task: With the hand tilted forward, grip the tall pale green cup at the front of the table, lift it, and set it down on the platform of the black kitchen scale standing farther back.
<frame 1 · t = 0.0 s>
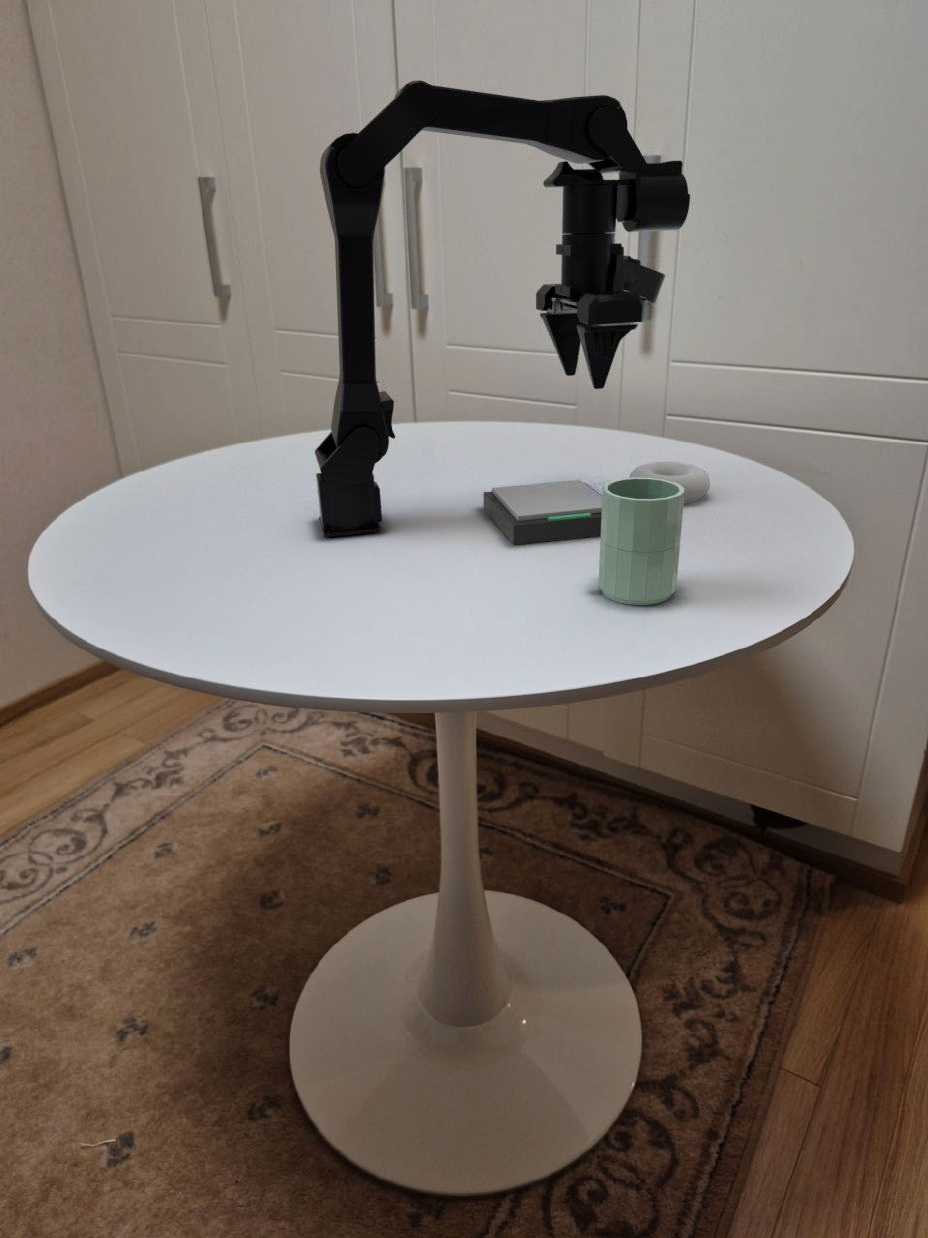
hand: (584, 381, 99), 15 cm above the table, tool pointing down, fingers open, 9 cm apart
donut: (667, 496, 108), on the table
scale: (551, 520, 100), on the table
pale green cup: (636, 591, 81), on the table
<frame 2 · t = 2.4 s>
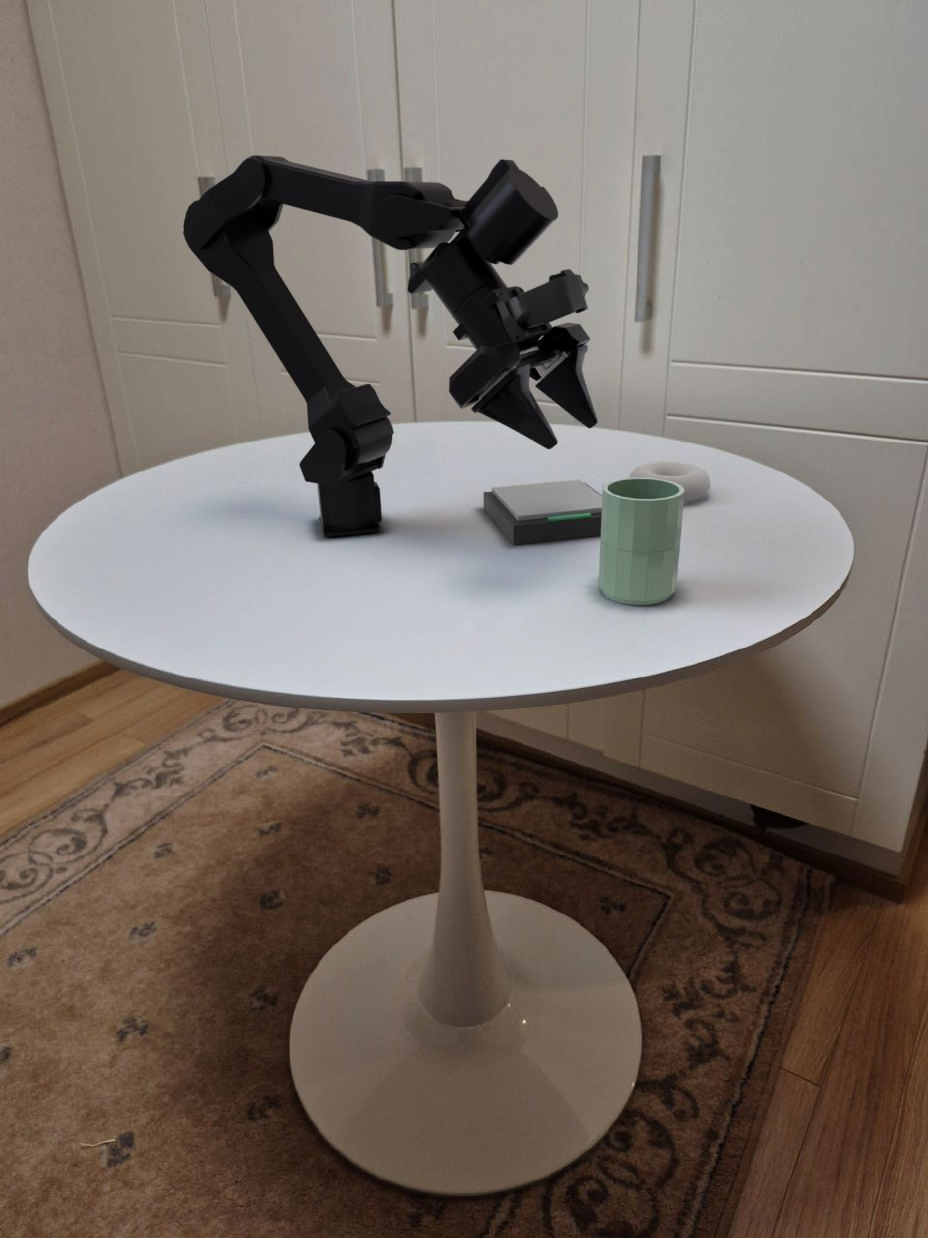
hand: (574, 435, 81), 13 cm above the table, tool tilted 40°, fingers open, 9 cm apart
nothing on the table moved.
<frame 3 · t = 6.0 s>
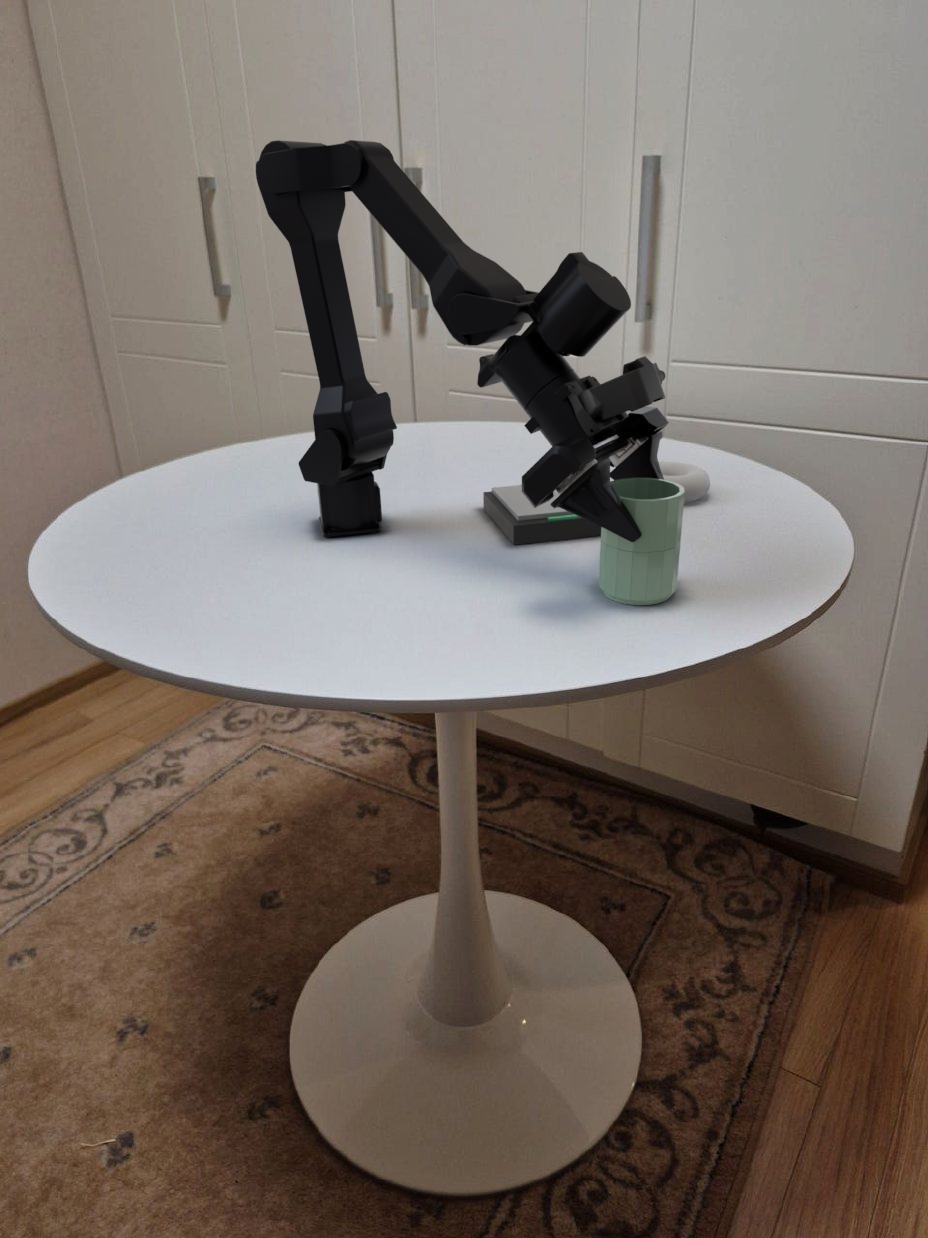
hand: (655, 527, 77), 7 cm above the table, tool tilted 45°, fingers closed on pale green cup, 7 cm apart
pale green cup: (636, 591, 81), on the table, touching gripper
everything else where it was.
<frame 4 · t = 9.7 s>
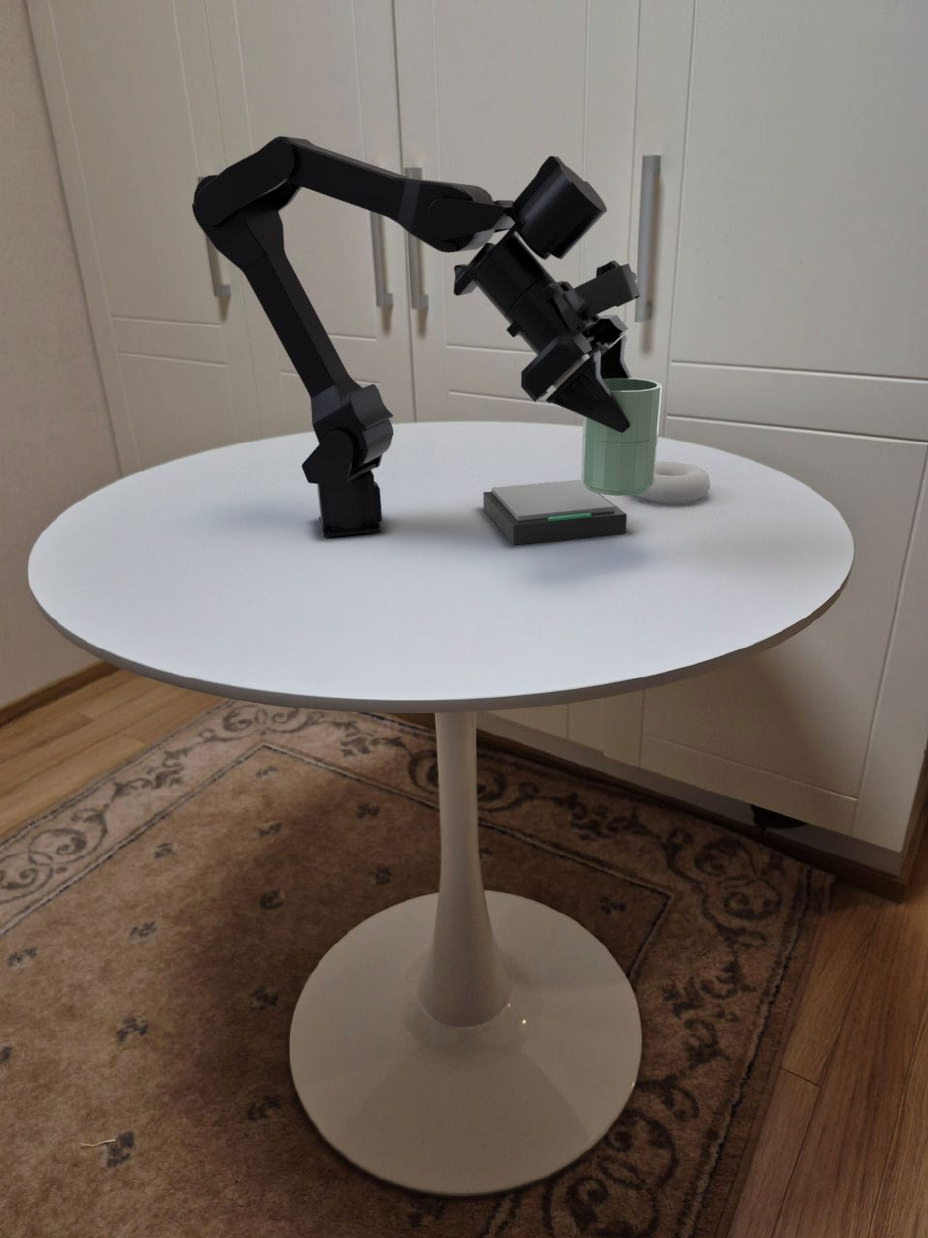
hand: (635, 421, 82), 14 cm above the table, tool tilted 45°, fingers closed on pale green cup, 7 cm apart
pale green cup: (616, 486, 86), point 7 cm above the table, touching gripper
everything else where it was.
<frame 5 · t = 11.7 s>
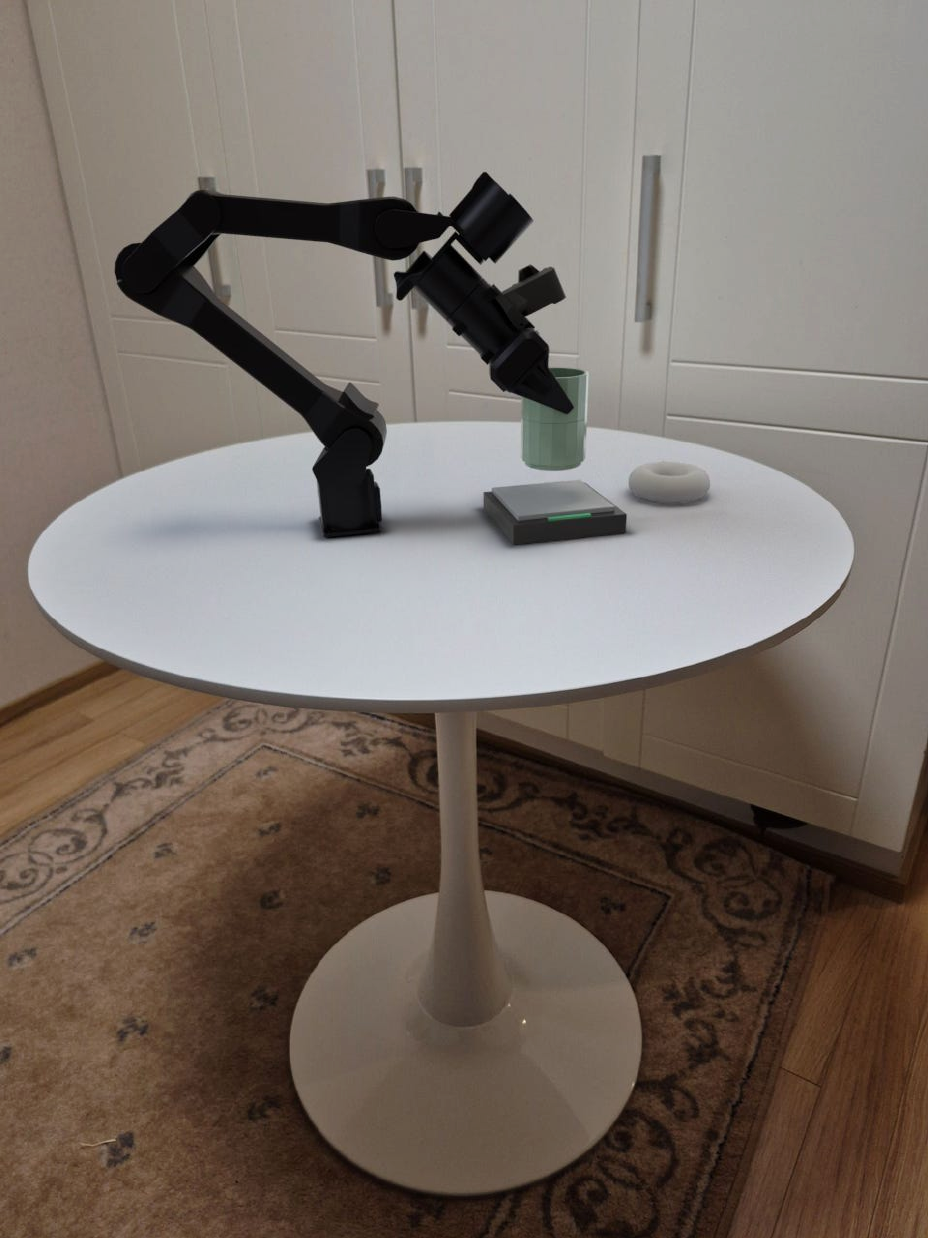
hand: (566, 403, 94), 13 cm above the table, tool tilted 45°, fingers closed on pale green cup, 7 cm apart
pale green cup: (552, 463, 97), point 7 cm above the table, touching gripper
everything else where it was.
when the fingers open (9 cm above the table, at t = 13.7 s): pale green cup stays where it is, resting on scale.
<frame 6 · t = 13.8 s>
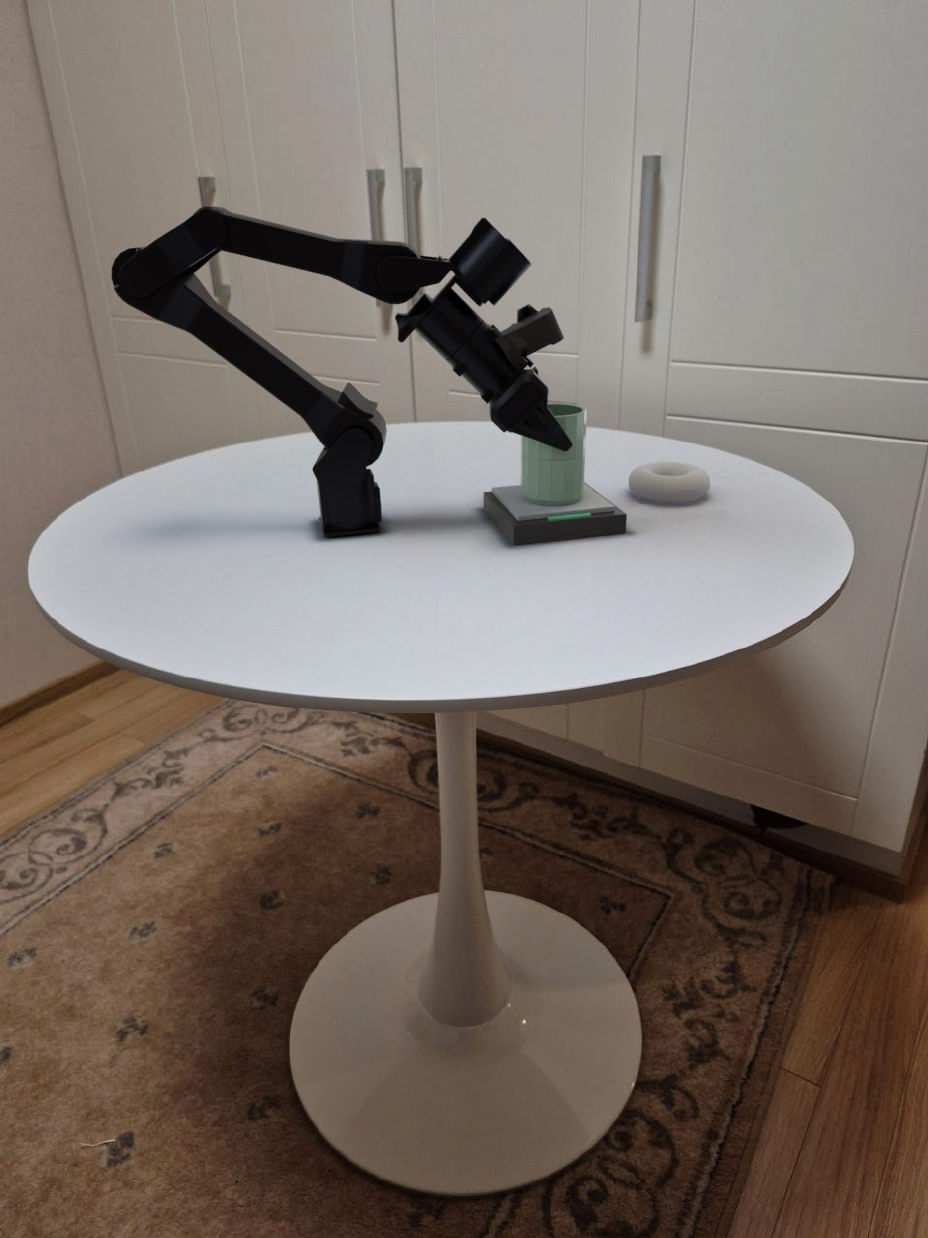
hand: (565, 439, 96), 9 cm above the table, tool tilted 45°, fingers open, 7 cm apart
pale green cup: (551, 497, 99), point 3 cm above the table, touching scale
everything else where it was.
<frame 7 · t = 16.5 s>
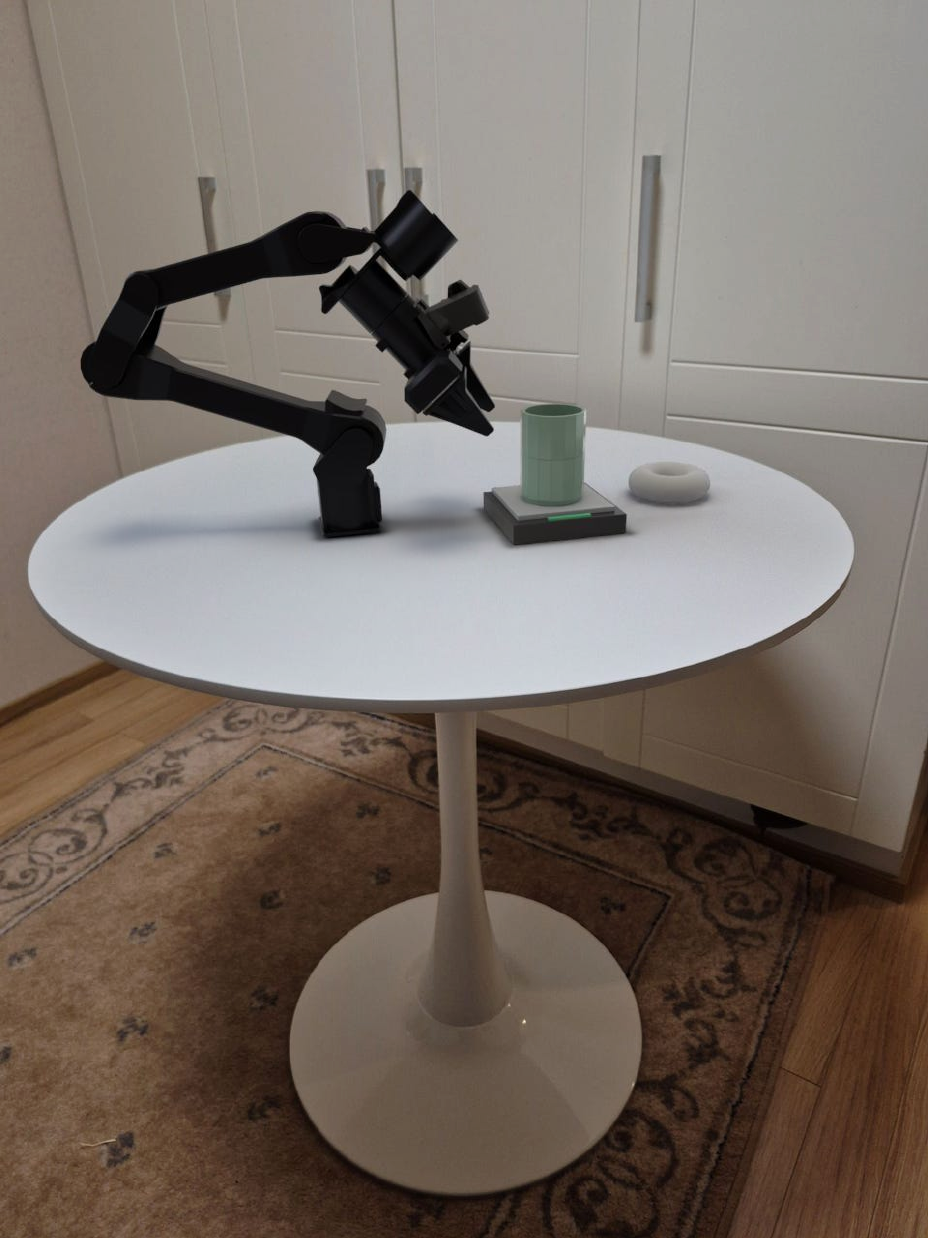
hand: (491, 420, 95), 12 cm above the table, tool tilted 45°, fingers open, 9 cm apart
nothing on the table moved.
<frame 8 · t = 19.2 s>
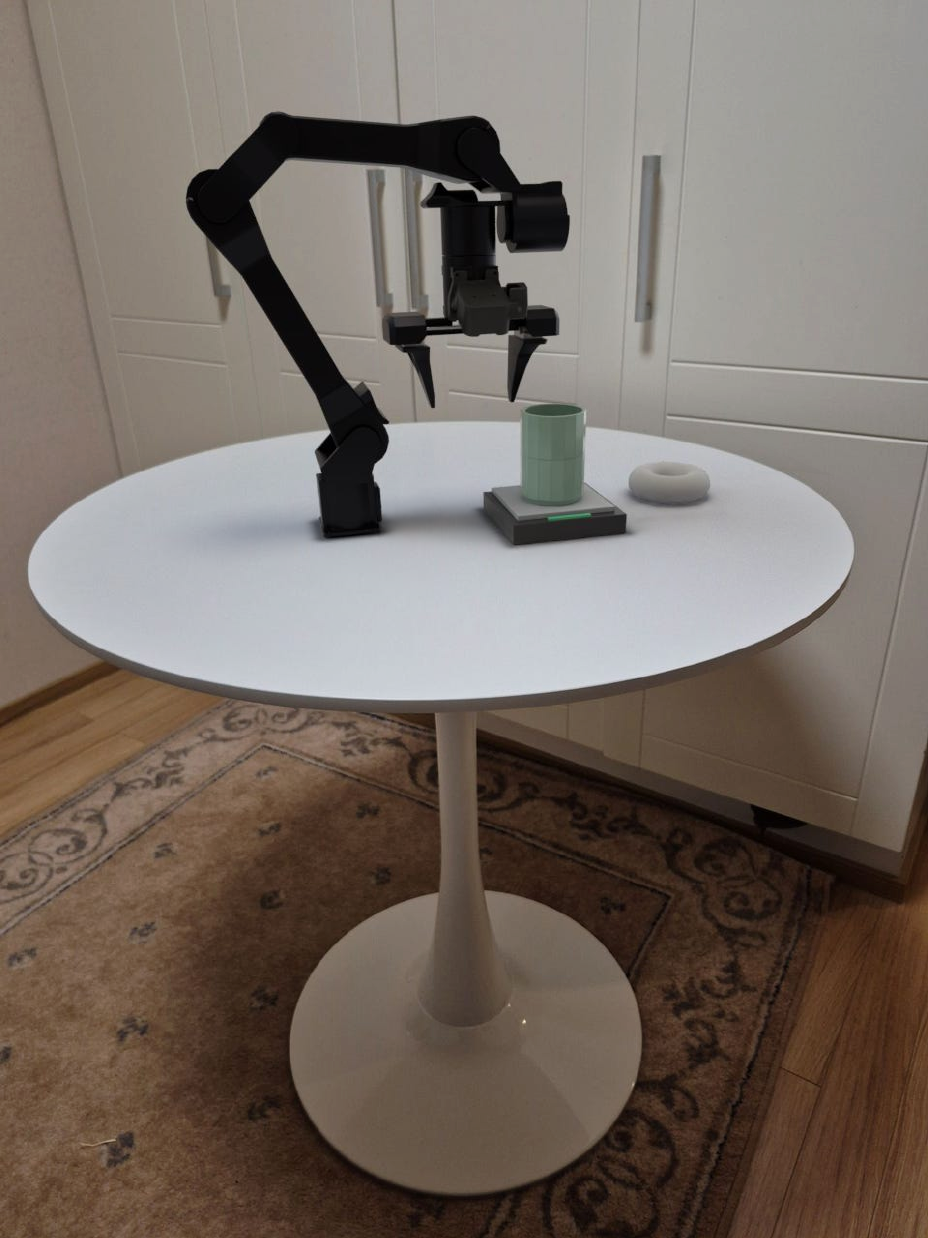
hand: (472, 404, 97), 13 cm above the table, tool pointing down, fingers open, 9 cm apart
nothing on the table moved.
at the end: pale green cup inside the target area on the scale (0.0 cm from its centre), point 2.8 cm above the scale's base; pale green cup tilted 0°; the gripper is holding nothing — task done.
